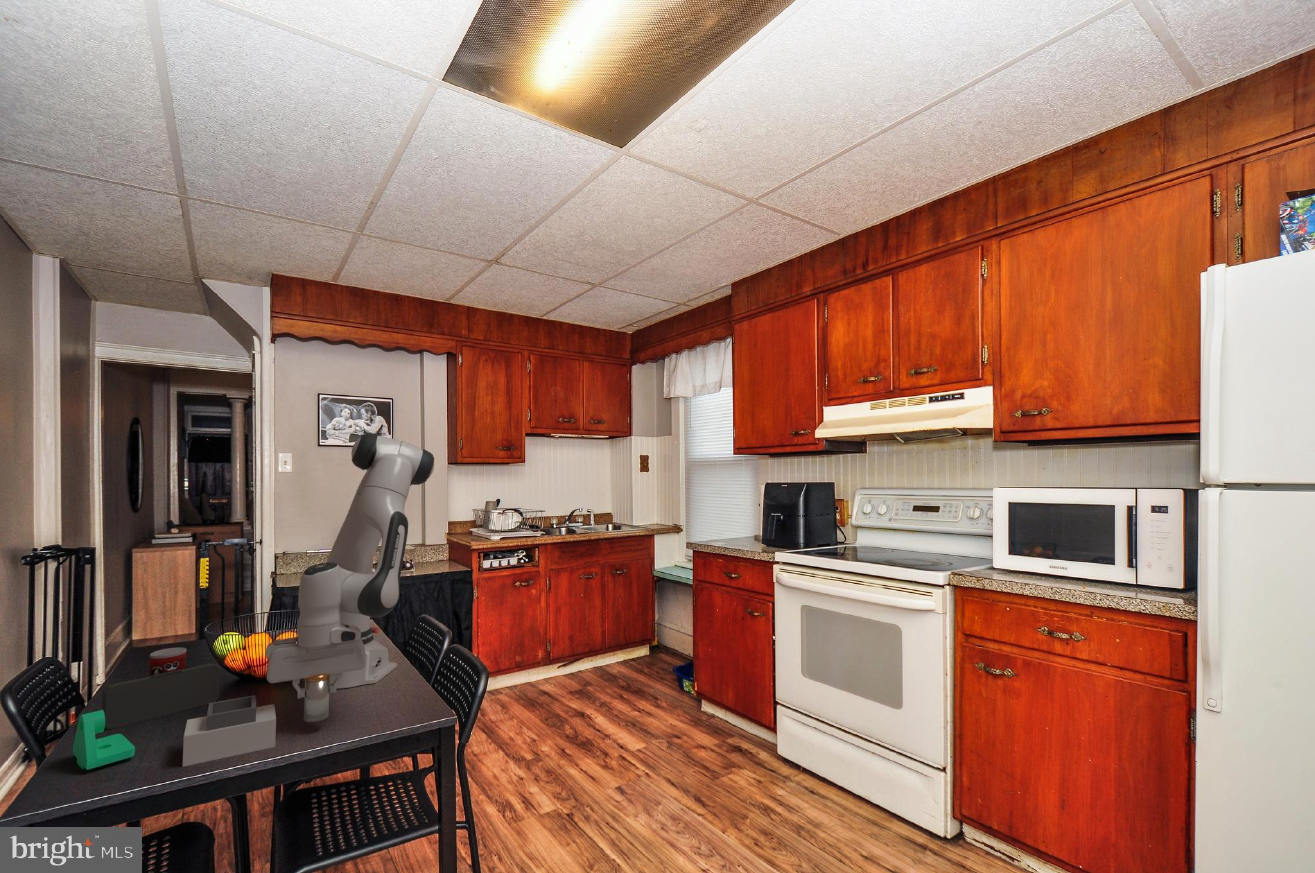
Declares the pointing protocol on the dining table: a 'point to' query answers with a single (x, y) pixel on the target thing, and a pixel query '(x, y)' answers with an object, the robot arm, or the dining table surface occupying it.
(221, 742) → the grey pedestal block
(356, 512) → the robot arm
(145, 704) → the handheld gaming console
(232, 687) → the dining table surface
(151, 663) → the canned food
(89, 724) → the camera mount
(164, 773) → the dining table surface
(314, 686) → the glass jar
